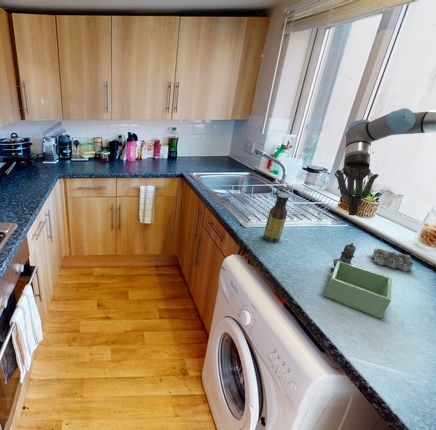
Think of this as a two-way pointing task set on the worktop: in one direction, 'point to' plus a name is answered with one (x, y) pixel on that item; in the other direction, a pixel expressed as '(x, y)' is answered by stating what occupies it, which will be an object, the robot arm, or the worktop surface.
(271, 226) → the sauce bottle
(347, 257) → the dark stone statuette
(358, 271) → the box
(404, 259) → the egg carton
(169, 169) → the worktop surface
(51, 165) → the worktop surface
